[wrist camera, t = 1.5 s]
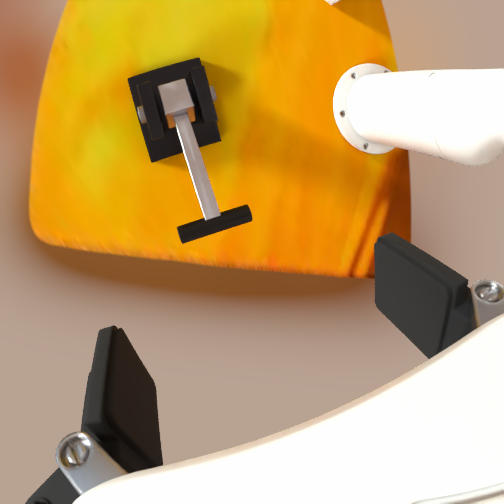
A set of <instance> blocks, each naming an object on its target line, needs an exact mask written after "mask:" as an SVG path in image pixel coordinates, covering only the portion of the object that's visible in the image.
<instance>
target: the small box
mask: <svg viewBox="0 0 504 504" xmlns="http://www.w3.org/2000/svg"><path fill="white" fill-rule="evenodd" d="M325 1H327V2H328V3H329V4H330V5H333V4H335V3H336V2H338V1H340V0H325Z"/></svg>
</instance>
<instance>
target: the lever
mask: <svg viewBox="0 0 504 504" xmlns="http://www.w3.org/2000/svg"><path fill="white" fill-rule="evenodd" d="M158 91H159V95H160V99H161V102H162V106H163V109H164V113H165V117H166V120H167V124H168V127H169V128H173V127H176V129H177V132H178V135H179V139H180V142H181V145H182V149H183V152H184V155H185V159H186V162H187V165H188V168H189V172H190V175H191V178H192V181H193V185H194V188H195V191H196V194H197V197H198V200H199V204H200V207H201V210H202V213H203V216H204V218H202V219H199V220H196V221H193V222H190V223H187V224H184V225H181V226H178V227H177V230H178V234H179V237H180V240H181V242H182V244H183V243H186V242H189V241H192V240H195V239H198V238H201V237H204V236H207V235H211V234H214V233H217V232H220V231H223V230H226V229H229V228H232V227H235V226H238V225H241V224H244V223H247V222H251V221H252V214H251V211H250V208H249V206H248V205H247V204H246V205H243V206H240V207H237V208H233V209H230V210H227V211H224V212H221V213H220V211H219V208H218V205H217V202H216V199H215V196H214V193H213V190H212V187H211V184H210V181H209V178H208V174H207V171H206V168H205V165H204V162H203V159H202V156H201V153H200V150H199V147H198V144H197V140H196V137H195V134H194V131H193V128H192V125H191V122H192V121H195V120H196V119H195V110H194V104H193V101H192V98H191V95H190V91H189V88H188V85H187V82H186V79H181V80H177V81H174V82H170V83H167V84H164V85H160V86H158Z"/></svg>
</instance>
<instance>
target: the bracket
mask: <svg viewBox="0 0 504 504" xmlns="http://www.w3.org/2000/svg"><path fill="white" fill-rule="evenodd" d="M181 79H186V82H187V85H188V88H189V91H190V95H191V98H192V101H193V104H194V110H195V119H196V120H195V121H192V122H191V125H192V128H193V131H194V134H195V137H196V140H197V144H198V147H202V146H206V145H209V144H212V143H216V142H219V141H221V138H220V134H219V130H218V126H217V123H216V121H218V118H217V114H216V110H215V106H214V103H213V102H216V100H217V99H216V93H215V89H214V87H213V86H212V85H210V86H209V84H208V80H207V76H206V72H205V68H204V66H201V62H200V58H195V59H191V60H187V61H183V62H179V63H175V64H172V65H168V66H165V67H162V68H158V69H155V70H152V71H149V72H146V73H142V74H139V75H136V76H134V77H131V78H128V83H129V87H130V90H131V94H132V98H133V101H134V105H135V109H136V112H137V116H138V119H139V123H140V126H141V130H142V133H143V136H144V140H145V143H146V146H147V150H148V153H149V156H150V159H151V162H155V161H158V160H161V159H164V158H167V157H170V156H173V155H176V154H180V153H183V149H182V145H181V142H180V139H179V135H178V132H177V129H176V127H173V128H169V127H168V124H167V120H166V117H165V113H164V109H163V106H162V102H161V99H160V95H159V91H158V86H160V85H164V84H167V83H170V82H174V81H177V80H181Z"/></svg>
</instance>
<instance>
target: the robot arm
mask: <svg viewBox="0 0 504 504" xmlns="http://www.w3.org/2000/svg"><path fill="white" fill-rule="evenodd" d="M351 76H352V77H351ZM333 110H334V117H335V120H336V123H337V126H338V128H339V130H340V132H341V134H342V135H343V136H344V138H345V139H346V140H347V141H348V142H349V143H350V144H351V145H352V146H353V147H355V148H357V149H358V150H360V151H363V152H366V153H371V154H382V153H386V152H388V151H390V150H392V149H394V148H395V147H397V148H402V149H406V150H410V151H414V152H419V153H422V154H427V155H430V156H434V157H438V158H442V159H445V160H449V161H453V162H456V163H460V164H463V165H468V166H479V165H484V164H486V163H489V162H491V161H492V160H494V159H495V158H497V157H498V156H499V155H501V154H502V153H503V152H504V68H501V69H444V70H417V71H401V72H391V71H390V70H389V69H387V68H385V67H383V66H381V65H377V64H369V63H368V64H361V65H357V66H354V67H353V68H351V69H349V70H348V71H347V72H346V73H345V74H344V75H343V76H342V77H341V79H340V80H339V82H338V84H337V86H336V89H335V93H334V98H333ZM340 113H341V115H340ZM374 251H375V303H376V306H377V308H378V309H379V310H380V311H381V312H382V313H383V314H384V315H385V316H386V317H387V318H388V319H389V320H390V321H391V322H392V323H393V324H394V325H395V326H396V327H397V328H399V330H400V331H401V332H402V333H404V334H405V336H406V337H408V339H409V340H410V341H411V342H412V343H413V344H414V345H415V346H417V348H418V349H419V350H420V351H421V352H422V353H423V354H424V355H425V356H427V357H428V359H429V360H427V361H426V362H424V363H422V364H421V365H419V366H417V367H416V368H414V369H412V370H410V371H409V372H407V373H405V374H403V375H402V376H400V377H398V378H397V379H394V380H393V381H391V382H389V383H387V384H385V385H383V386H381V387H380V388H378V389H376V390H374V391H372V392H370V393H368V394H366V395H364V396H362V397H360V398H358V399H356V400H354V401H352V402H350V403H347V404H345V405H343V406H341V407H339V408H336V409H335V410H332V411H330V412H327V413H325V414H323V415H321V416H318V417H316V418H313V419H311V420H309V421H306V422H304V423H301V424H299V425H296V426H293V427H291V428H288V429H286V430H283V431H280V432H278V433H275V434H272V435H269V436H267V437H263V438H260V439H258V440H255V441H251V442H248V443H245V444H242V445H239V446H236V447H233V448H229V449H226V450H222V451H219V452H215V453H211V454H207V455H204V456H200V457H196V458H192V459H188V460H184V461H180V462H176V463H172V464H167V465H163V460H162V451H161V442H160V432H159V422H158V409H157V396H156V386H155V383H154V381H153V379H152V378H151V376H150V374H149V373H148V371H147V369H146V368H145V366H144V365H143V363H142V361H141V360H140V358H139V356H138V355H137V353H136V351H135V350H134V348H133V346H132V345H131V343H130V341H129V339H128V337H127V336H126V334H125V332H124V331H123V329H122V328H119V329H118V328H117V327H116V326H111V327H107V328H104V329H101V330H99V333H98V338H97V342H96V348H95V353H94V358H93V364H92V369H91V372H90V373H89V376H88V382H87V388H86V395H85V402H84V409H83V417H82V426H81V432H74V433H71V434H69V435H67V436H66V437H64V438H63V439H62V440H61V442H60V443H59V445H58V447H57V449H56V455H55V456H56V462H57V464H58V466H59V468H58V469H57V470H56V471H55V472H54V473H53V474H52V475H51V476H50V477H49V478H48V479H47V480H46V481H45V482H44V483H43V484H42V486H40V487H39V488H38V489H37V491H36V492H35V493H34V494H33V495H32V496H31V497H30V498H29V499H28V500H27V502H26V503H25V504H504V287H503V286H502V285H501V284H499V283H497V282H495V281H491V280H480V281H477V282H475V283H474V284H473V285H472V287H471V289H470V288H469V287H467V285H468V279H466V278H464V277H463V276H461V275H460V274H458V273H457V272H456V271H454V270H452V269H451V268H449V267H448V266H446V265H444V264H443V263H441V262H440V261H438V260H437V259H435V258H434V257H432V256H431V255H429V254H427V253H426V252H424V251H422V250H420V249H419V248H418V247H416V246H414V245H413V244H411V243H409V242H408V241H406V240H404V239H403V238H401V237H399V236H398V235H396V234H394V233H389V234H386V235H383V236H381V237H379V238H378V239H377V242H376V243H375V245H374Z"/></svg>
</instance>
